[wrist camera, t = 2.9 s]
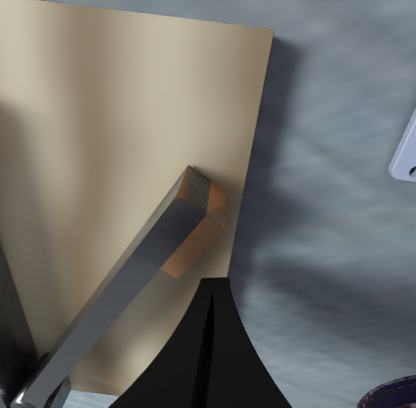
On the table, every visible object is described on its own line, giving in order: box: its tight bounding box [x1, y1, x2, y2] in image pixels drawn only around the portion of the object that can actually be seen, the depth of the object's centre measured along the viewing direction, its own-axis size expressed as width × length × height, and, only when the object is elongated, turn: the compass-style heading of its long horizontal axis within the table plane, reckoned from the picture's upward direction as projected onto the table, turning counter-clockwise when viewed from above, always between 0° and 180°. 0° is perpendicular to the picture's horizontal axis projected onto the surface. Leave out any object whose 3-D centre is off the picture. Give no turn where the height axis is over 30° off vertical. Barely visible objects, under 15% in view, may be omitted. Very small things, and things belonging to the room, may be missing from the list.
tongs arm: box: [10, 165, 226, 408], centre depth 14 cm, size 2×19×3 cm, turn 144°
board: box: [0, 0, 274, 396], centre depth 16 cm, size 15×25×2 cm, turn 174°
